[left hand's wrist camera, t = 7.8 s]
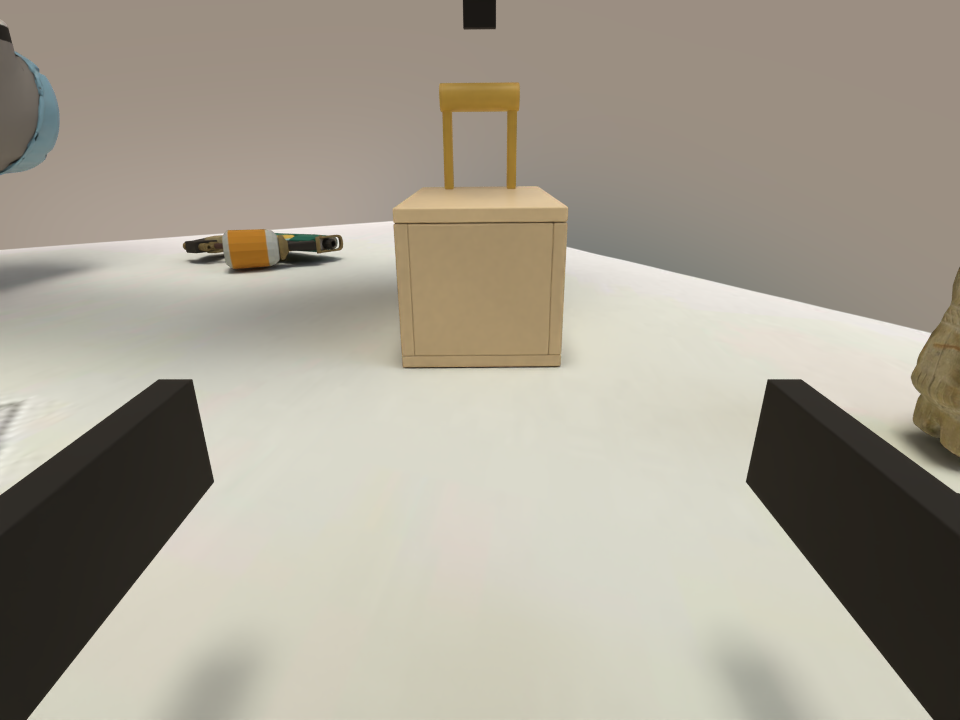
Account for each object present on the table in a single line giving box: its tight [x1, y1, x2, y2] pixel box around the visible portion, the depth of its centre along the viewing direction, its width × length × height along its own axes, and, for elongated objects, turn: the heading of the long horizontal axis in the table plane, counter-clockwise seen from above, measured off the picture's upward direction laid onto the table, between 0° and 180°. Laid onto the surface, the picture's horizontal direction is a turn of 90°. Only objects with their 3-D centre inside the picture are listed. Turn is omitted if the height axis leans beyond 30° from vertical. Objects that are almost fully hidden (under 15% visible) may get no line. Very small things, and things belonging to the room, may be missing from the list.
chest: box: [394, 222, 567, 367], centre depth 40 cm, size 17×10×9 cm, turn 0°
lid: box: [393, 83, 568, 223], centre depth 37 cm, size 17×10×8 cm, turn 0°
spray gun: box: [183, 229, 343, 269], centre depth 67 cm, size 4×17×15 cm
